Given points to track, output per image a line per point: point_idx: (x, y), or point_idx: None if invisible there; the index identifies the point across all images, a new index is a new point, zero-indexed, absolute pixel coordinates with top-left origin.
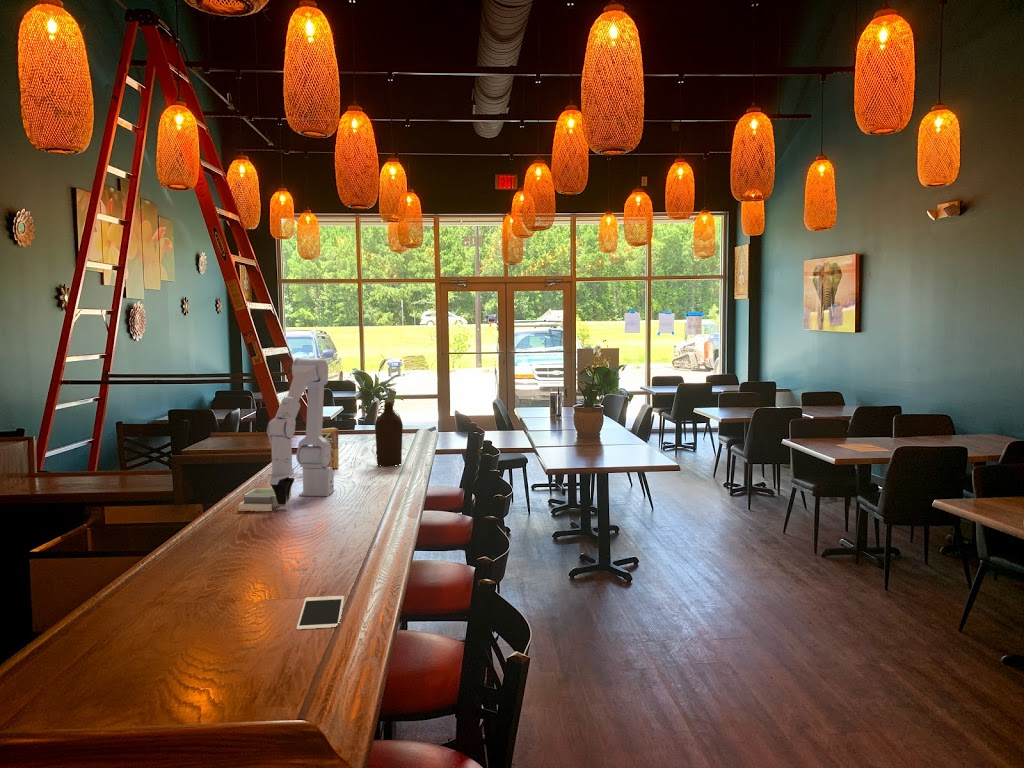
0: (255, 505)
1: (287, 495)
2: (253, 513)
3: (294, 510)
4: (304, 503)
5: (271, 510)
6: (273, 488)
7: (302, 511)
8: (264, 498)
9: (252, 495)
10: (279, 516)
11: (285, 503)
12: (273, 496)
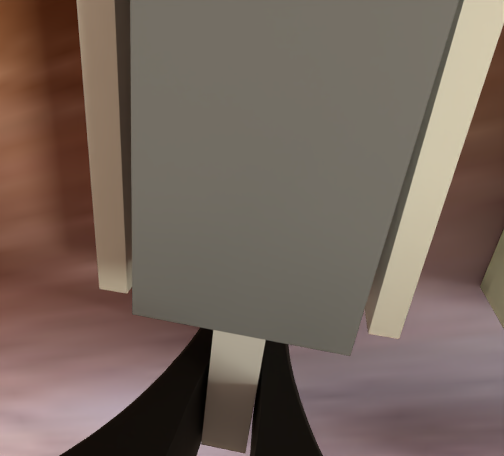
0: (93, 119)
1: (250, 453)
2: (65, 96)
3: None
4: (422, 442)
5: None
6: (73, 453)
7: None
8: (136, 244)
9: (249, 35)
10: (15, 325)
11: None
12: (215, 335)
